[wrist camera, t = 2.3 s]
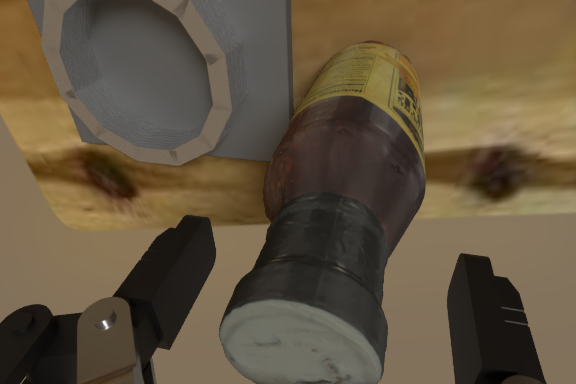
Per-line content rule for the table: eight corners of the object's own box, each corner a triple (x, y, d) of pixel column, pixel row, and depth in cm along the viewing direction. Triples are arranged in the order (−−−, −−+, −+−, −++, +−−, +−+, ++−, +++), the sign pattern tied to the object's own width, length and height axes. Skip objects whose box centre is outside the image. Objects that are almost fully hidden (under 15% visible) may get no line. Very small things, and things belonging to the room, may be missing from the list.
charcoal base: (289, -65, 21) (283, -64, 20) (294, 156, 29) (290, 164, 28) (20, -58, 25) (4, -57, 24) (91, 135, 33) (82, 141, 32)
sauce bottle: (411, 132, 26) (412, 465, 11) (319, 125, 27) (201, 409, 12) (428, 30, 22) (471, 316, 7) (321, 27, 24) (150, 259, 8)
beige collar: (235, -46, 21) (213, -39, 19) (254, 151, 29) (240, 173, 26) (47, -43, 24) (7, -37, 22) (108, 136, 31) (83, 155, 29)
